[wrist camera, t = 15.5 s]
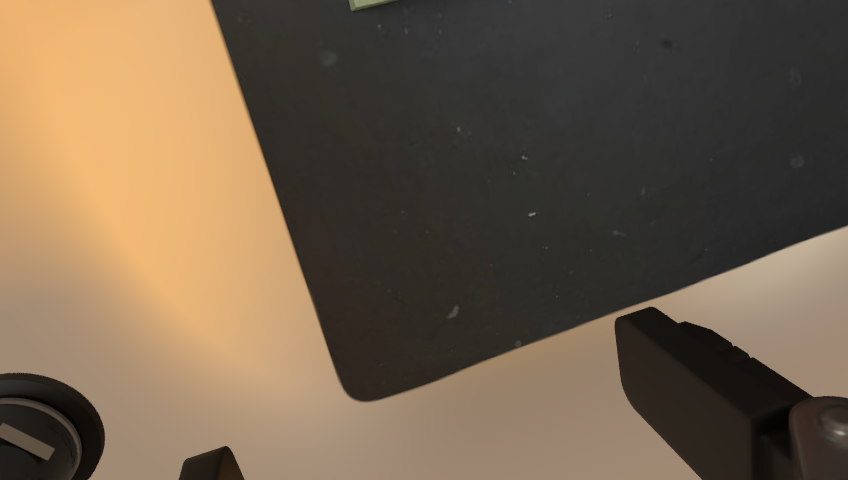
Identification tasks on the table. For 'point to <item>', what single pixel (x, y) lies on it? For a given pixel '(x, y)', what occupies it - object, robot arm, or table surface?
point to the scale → (366, 3)
